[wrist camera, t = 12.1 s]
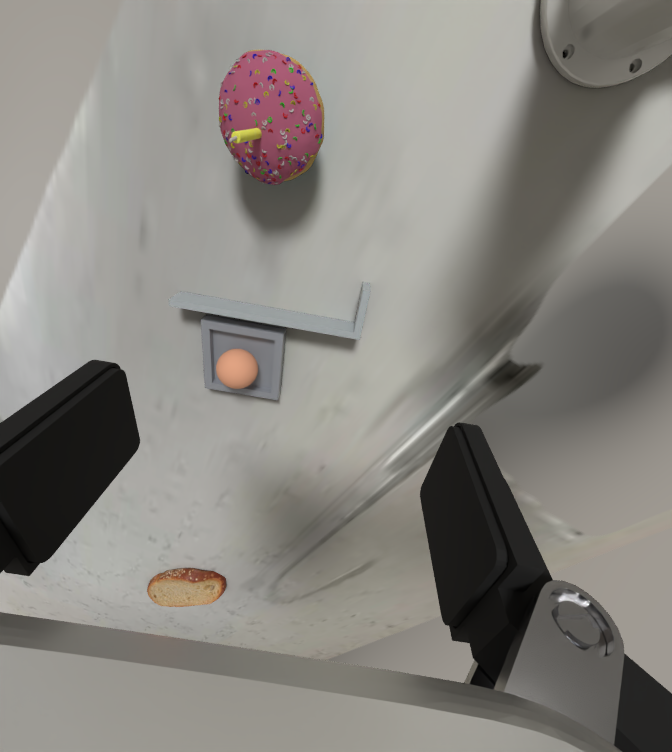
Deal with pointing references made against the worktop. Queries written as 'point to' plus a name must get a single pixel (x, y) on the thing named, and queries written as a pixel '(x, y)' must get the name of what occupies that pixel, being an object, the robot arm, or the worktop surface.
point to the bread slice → (186, 587)
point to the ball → (237, 368)
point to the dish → (252, 338)
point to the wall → (276, 313)
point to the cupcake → (271, 116)
